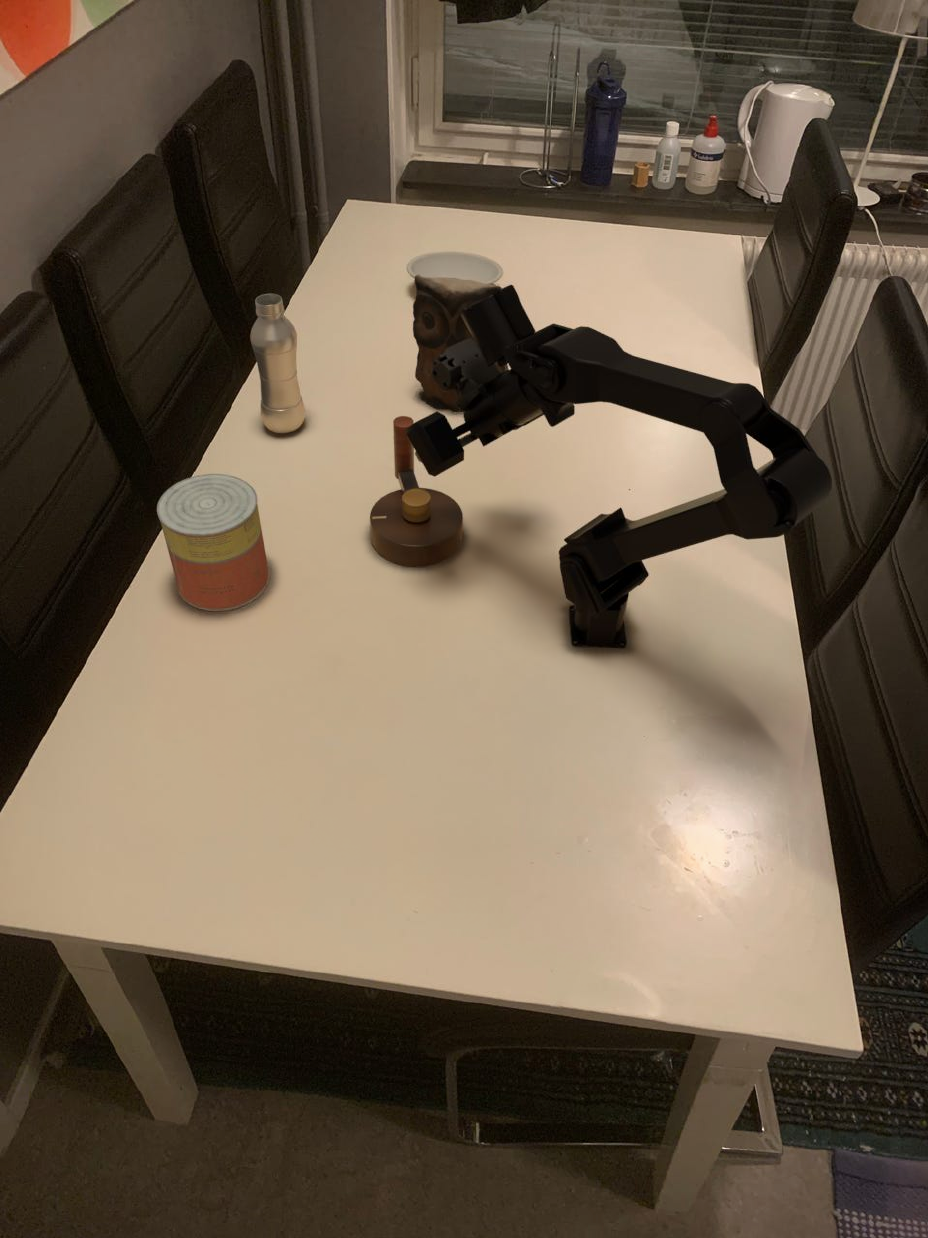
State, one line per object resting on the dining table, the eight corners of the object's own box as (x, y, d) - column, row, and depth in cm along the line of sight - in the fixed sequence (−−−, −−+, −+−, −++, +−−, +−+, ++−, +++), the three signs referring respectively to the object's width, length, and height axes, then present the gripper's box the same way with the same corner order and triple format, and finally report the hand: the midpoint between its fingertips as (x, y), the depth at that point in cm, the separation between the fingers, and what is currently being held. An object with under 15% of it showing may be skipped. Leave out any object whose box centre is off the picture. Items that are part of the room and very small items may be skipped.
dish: (400, 308, 165) (399, 281, 161) (414, 273, 175) (414, 247, 171) (496, 317, 163) (498, 290, 160) (505, 281, 173) (507, 255, 170)
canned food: (284, 559, 116) (273, 483, 108) (246, 619, 109) (230, 543, 100) (203, 542, 118) (186, 466, 110) (160, 600, 111) (138, 523, 102)
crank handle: (433, 520, 117) (433, 464, 111) (405, 524, 116) (404, 467, 110) (415, 469, 124) (415, 414, 118) (389, 472, 124) (387, 417, 117)
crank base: (460, 568, 116) (461, 547, 114) (366, 565, 116) (365, 543, 114) (463, 509, 125) (464, 488, 122) (375, 506, 125) (374, 484, 122)
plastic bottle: (253, 431, 136) (233, 304, 122) (280, 409, 141) (264, 284, 126) (289, 443, 134) (273, 315, 120) (315, 421, 139) (302, 295, 124)
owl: (511, 410, 142) (521, 287, 128) (438, 428, 138) (439, 303, 124) (475, 371, 150) (480, 251, 136) (404, 387, 146) (402, 265, 132)
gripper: (537, 303, 103) (466, 357, 116) (416, 360, 94) (353, 411, 107) (583, 392, 105) (508, 435, 118) (469, 456, 95) (401, 495, 108)
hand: (445, 442), depth 113 cm, fingers open, 9 cm apart
